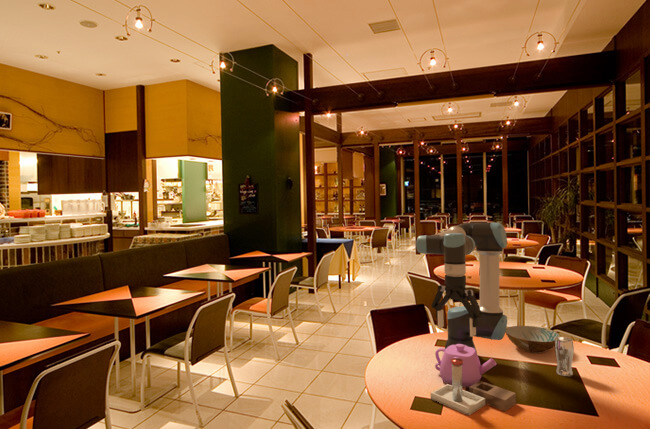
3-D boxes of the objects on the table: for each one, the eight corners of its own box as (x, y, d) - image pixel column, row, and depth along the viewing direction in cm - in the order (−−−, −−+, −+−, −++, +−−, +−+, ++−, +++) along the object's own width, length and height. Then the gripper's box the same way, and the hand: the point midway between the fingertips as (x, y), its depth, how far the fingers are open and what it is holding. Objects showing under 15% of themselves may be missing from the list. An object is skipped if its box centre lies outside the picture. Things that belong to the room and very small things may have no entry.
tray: (430, 399, 153) (430, 392, 152) (447, 390, 159) (447, 383, 159) (468, 415, 140) (468, 408, 140) (485, 405, 147) (485, 398, 147)
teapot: (430, 371, 178) (429, 339, 178) (474, 366, 181) (473, 335, 181) (450, 390, 159) (449, 355, 159) (498, 385, 162) (498, 350, 162)
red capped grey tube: (449, 399, 150) (448, 360, 150) (455, 395, 153) (454, 357, 152) (459, 404, 147) (458, 363, 146) (466, 400, 149) (465, 360, 149)
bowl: (517, 337, 219) (516, 322, 218) (568, 348, 200) (568, 332, 200) (496, 349, 202) (496, 333, 201) (550, 362, 183) (550, 345, 183)
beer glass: (576, 377, 167) (576, 341, 167) (558, 376, 169) (558, 341, 168) (570, 370, 174) (569, 336, 174) (552, 369, 176) (552, 335, 175)
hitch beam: (469, 397, 153) (469, 387, 153) (480, 390, 158) (480, 380, 158) (505, 411, 142) (505, 400, 142) (516, 403, 147) (515, 393, 147)
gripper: (421, 272, 156) (422, 326, 157) (480, 280, 137) (482, 342, 137) (433, 269, 161) (434, 322, 161) (492, 277, 141) (493, 336, 142)
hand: (456, 331), depth 149 cm, fingers open, 13 cm apart
